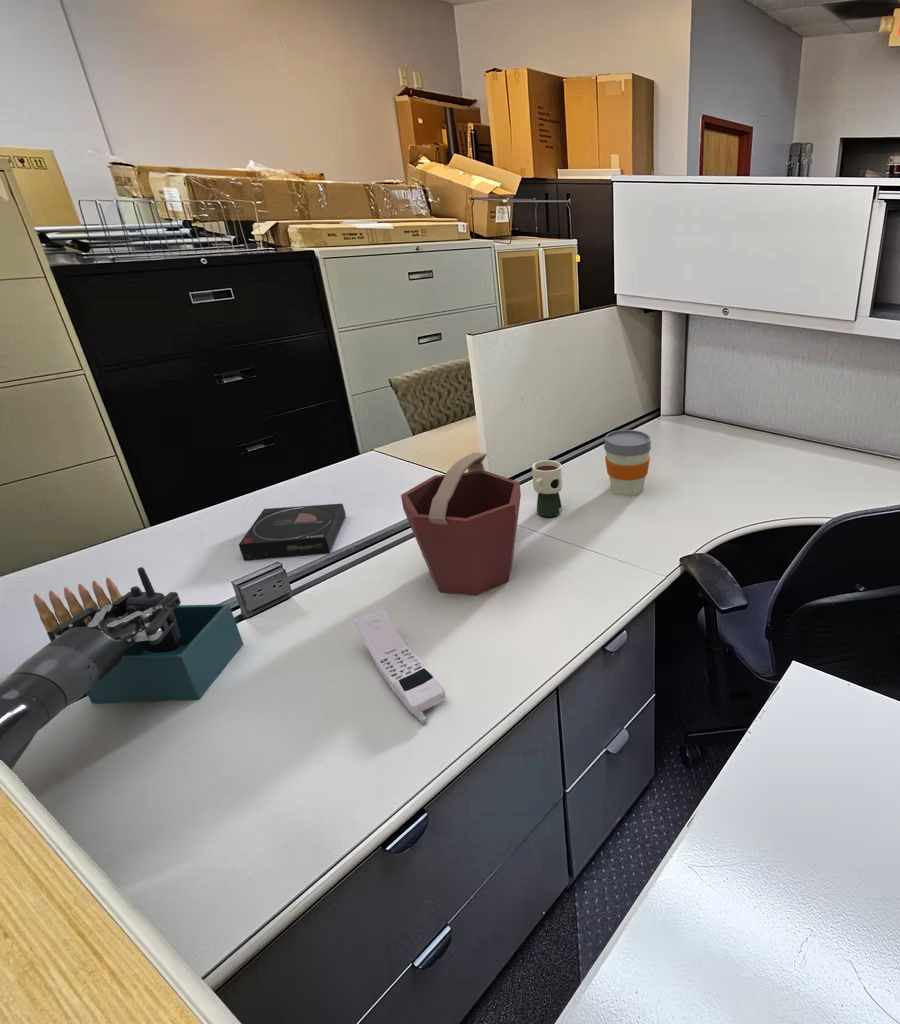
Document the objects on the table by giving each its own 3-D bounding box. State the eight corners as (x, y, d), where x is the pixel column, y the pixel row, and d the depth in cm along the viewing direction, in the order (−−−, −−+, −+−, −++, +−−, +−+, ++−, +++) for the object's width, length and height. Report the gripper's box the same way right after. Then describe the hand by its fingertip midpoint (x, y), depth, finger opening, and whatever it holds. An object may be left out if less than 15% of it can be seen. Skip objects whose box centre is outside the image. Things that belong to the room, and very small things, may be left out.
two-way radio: (190, 641, 100) (158, 563, 93) (169, 659, 96) (134, 579, 90) (156, 640, 100) (122, 561, 93) (133, 658, 96) (96, 577, 90)
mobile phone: (385, 605, 109) (450, 679, 94) (392, 632, 112) (455, 708, 96) (350, 620, 105) (411, 699, 90) (357, 647, 108) (418, 728, 93)
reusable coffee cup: (596, 492, 167) (595, 440, 160) (618, 476, 177) (618, 426, 170) (637, 502, 163) (638, 449, 156) (657, 484, 173) (659, 434, 166)
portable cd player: (346, 517, 149) (342, 502, 147) (330, 553, 134) (326, 537, 132) (269, 522, 145) (265, 507, 143) (244, 560, 130) (238, 544, 128)
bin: (91, 703, 94) (68, 660, 90) (148, 647, 106) (130, 606, 102) (199, 699, 96) (181, 656, 92) (243, 644, 107) (229, 603, 103)
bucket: (466, 536, 143) (452, 434, 132) (551, 554, 138) (544, 451, 126) (391, 592, 123) (368, 478, 111) (488, 617, 117) (474, 500, 105)
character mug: (552, 525, 150) (549, 476, 144) (526, 519, 152) (522, 471, 146) (571, 506, 159) (570, 459, 153) (547, 501, 161) (544, 455, 155)
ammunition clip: (140, 629, 109) (115, 573, 104) (140, 635, 108) (114, 578, 103) (59, 651, 104) (27, 592, 98) (57, 657, 102) (25, 598, 97)
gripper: (112, 647, 80) (196, 576, 96) (-6, 647, 80) (98, 576, 95) (132, 690, 84) (210, 616, 99) (20, 691, 83) (116, 615, 98)
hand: (155, 596), depth 97 cm, fingers closed on two-way radio, 5 cm apart
